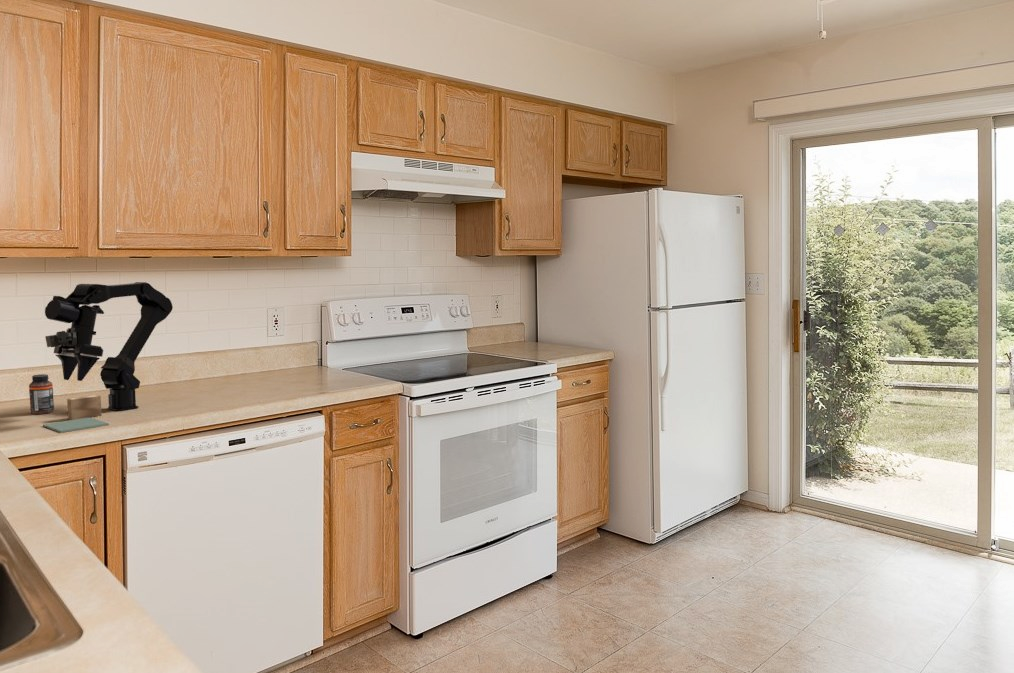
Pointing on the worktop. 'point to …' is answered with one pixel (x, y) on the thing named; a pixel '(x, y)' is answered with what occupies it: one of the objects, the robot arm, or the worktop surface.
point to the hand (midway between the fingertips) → (72, 380)
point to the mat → (75, 424)
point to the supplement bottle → (41, 395)
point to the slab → (84, 407)
